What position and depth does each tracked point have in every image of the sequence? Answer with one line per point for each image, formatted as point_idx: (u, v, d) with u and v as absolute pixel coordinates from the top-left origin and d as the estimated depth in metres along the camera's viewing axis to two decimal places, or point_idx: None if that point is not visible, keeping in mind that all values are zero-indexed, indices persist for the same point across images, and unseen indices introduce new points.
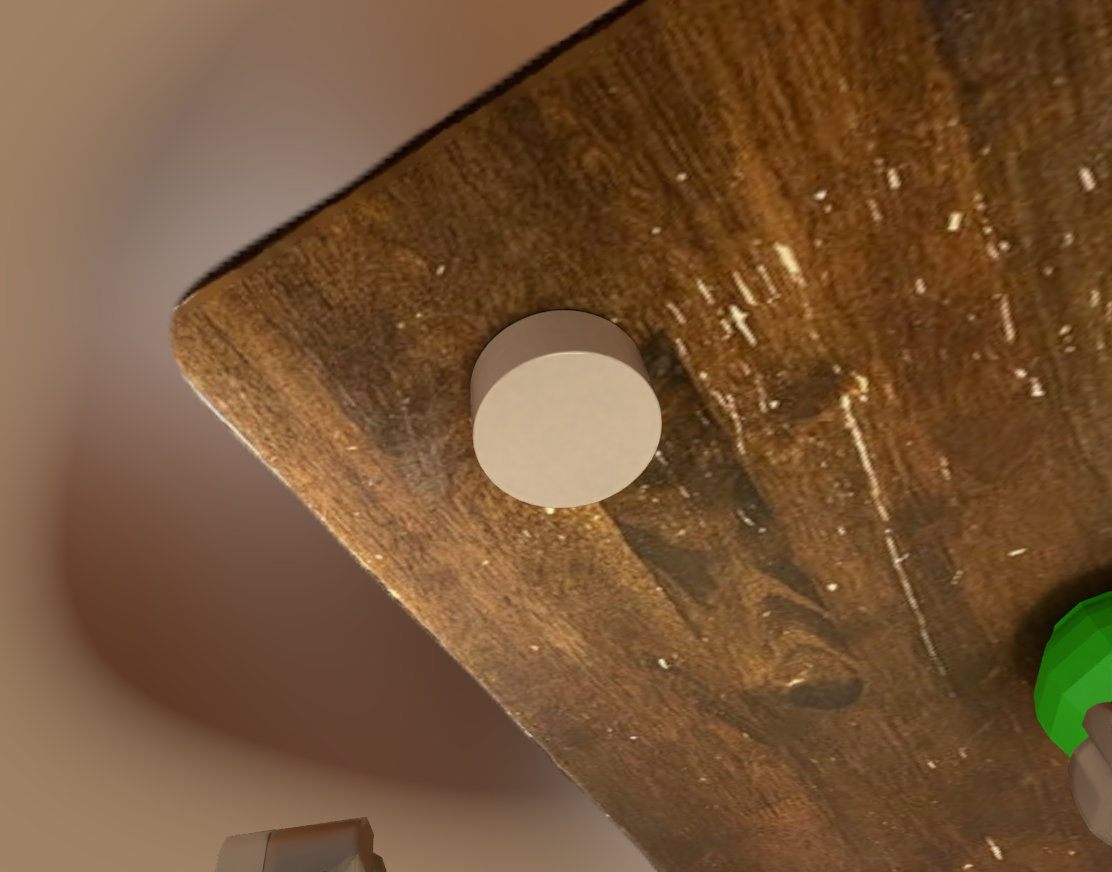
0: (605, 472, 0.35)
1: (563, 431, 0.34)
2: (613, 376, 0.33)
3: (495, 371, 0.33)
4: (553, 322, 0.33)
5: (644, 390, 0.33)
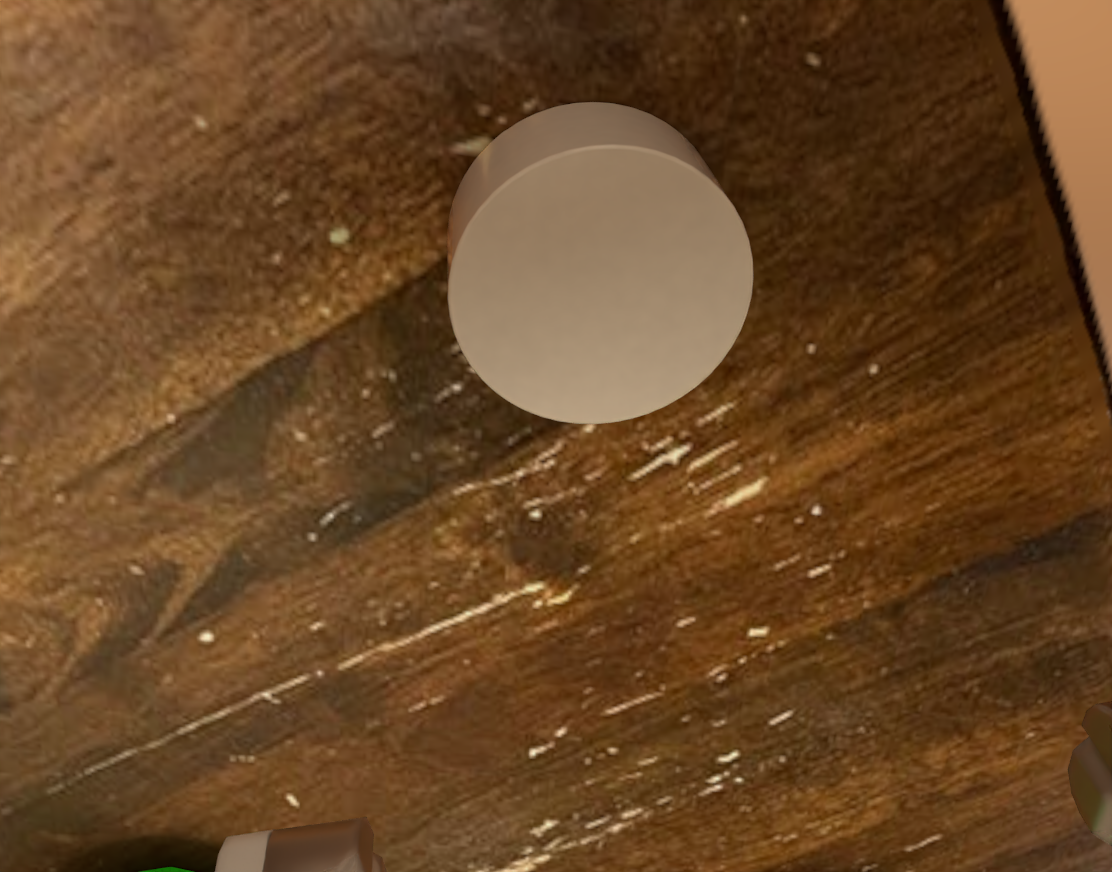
0: (522, 356, 0.21)
1: (610, 290, 0.21)
2: (700, 353, 0.22)
3: (708, 173, 0.20)
4: None
5: (669, 396, 0.22)
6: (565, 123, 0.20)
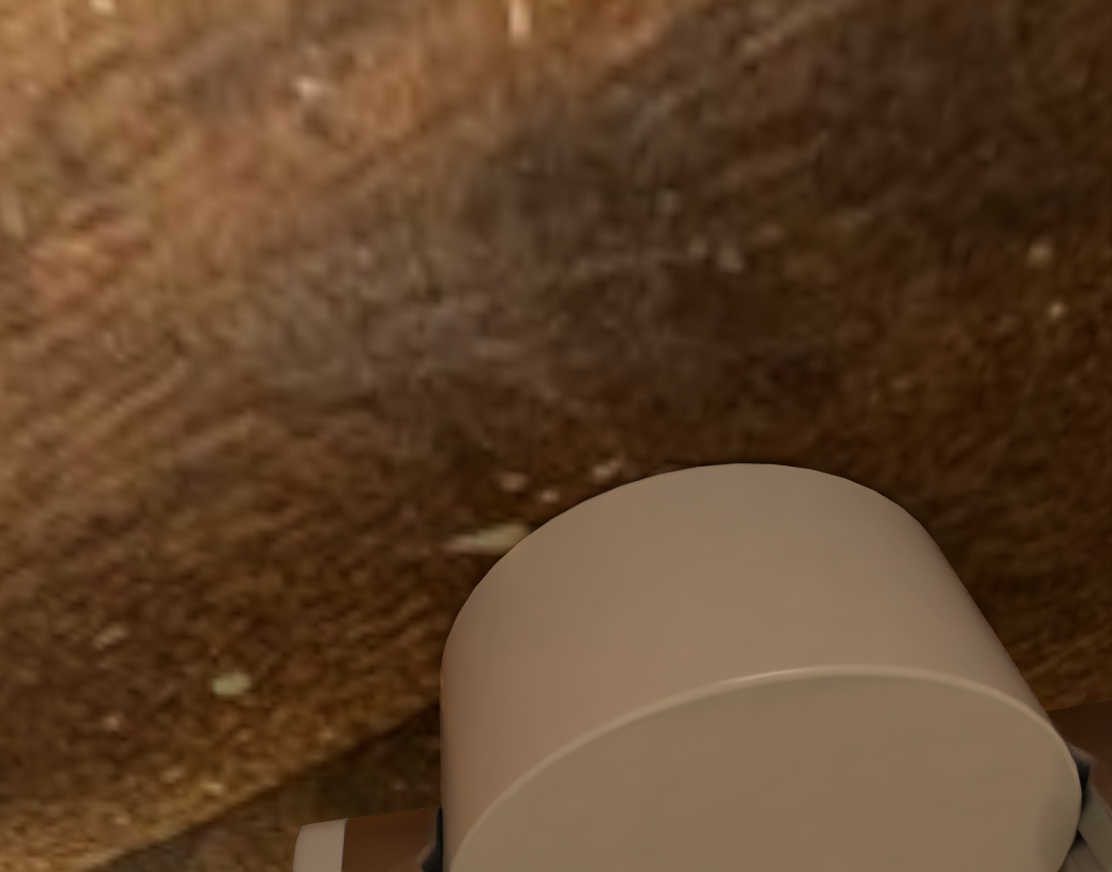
0: None
1: None
2: None
3: (1003, 658, 0.09)
4: None
5: None
6: (693, 550, 0.09)
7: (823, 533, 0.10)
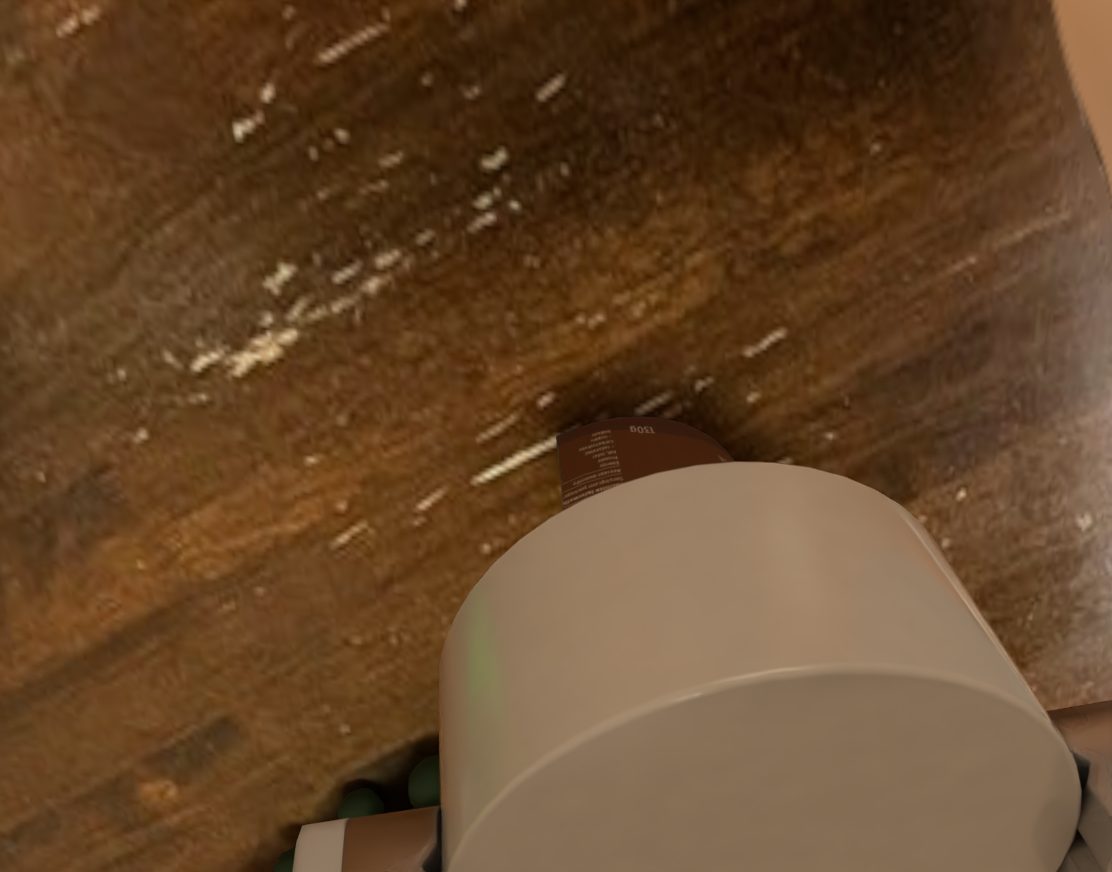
0: None
1: None
2: None
3: (1002, 656, 0.09)
4: None
5: None
6: (692, 548, 0.09)
7: (822, 531, 0.10)
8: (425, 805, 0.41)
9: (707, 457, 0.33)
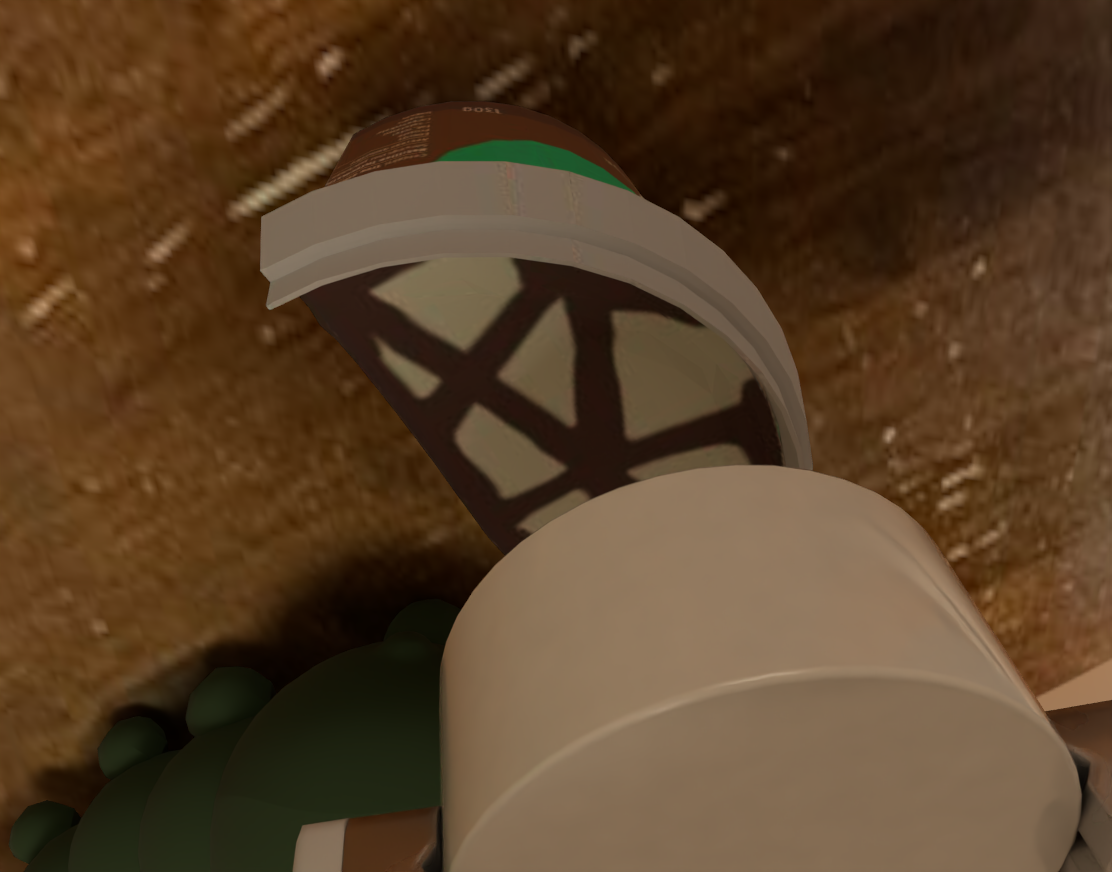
0: None
1: None
2: None
3: (1003, 660, 0.09)
4: None
5: None
6: (693, 551, 0.09)
7: (823, 534, 0.10)
8: (206, 733, 0.29)
9: (582, 148, 0.21)
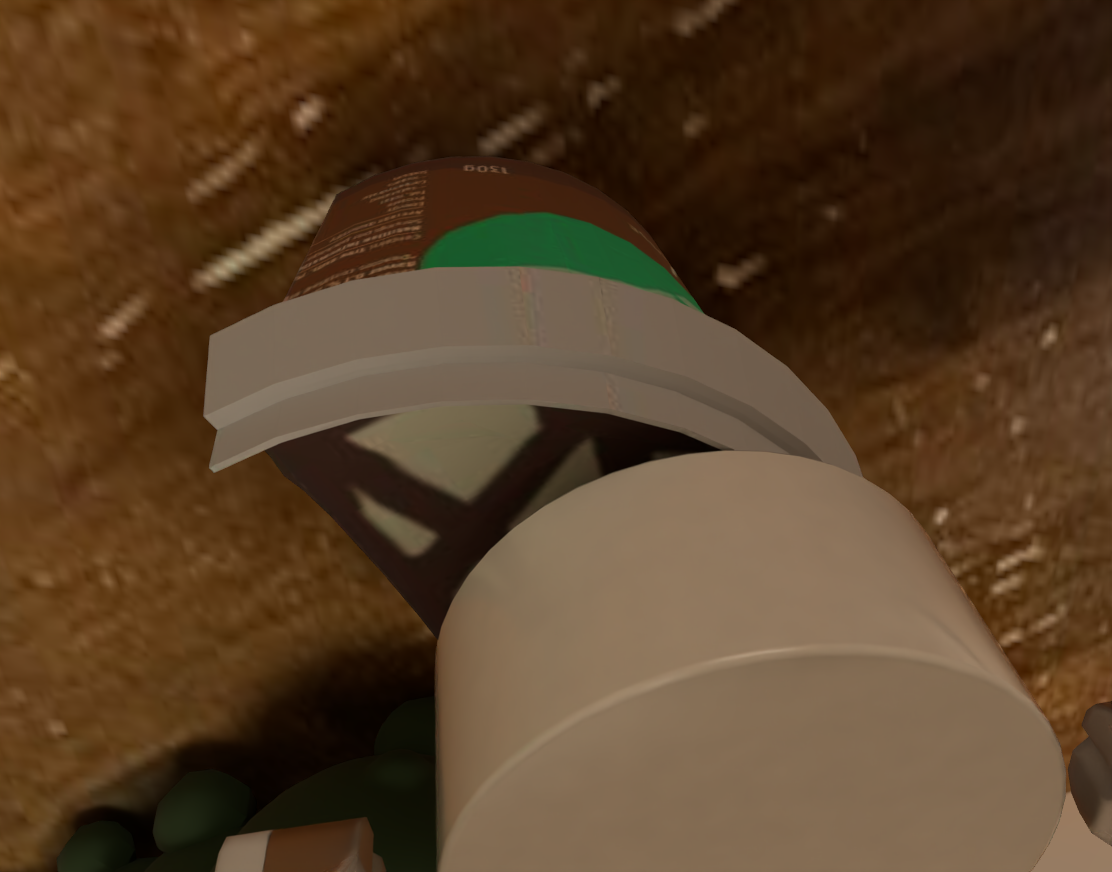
0: None
1: (772, 860, 0.10)
2: None
3: (987, 641, 0.10)
4: None
5: None
6: (683, 534, 0.10)
7: (811, 518, 0.10)
8: (175, 851, 0.25)
9: (604, 215, 0.18)
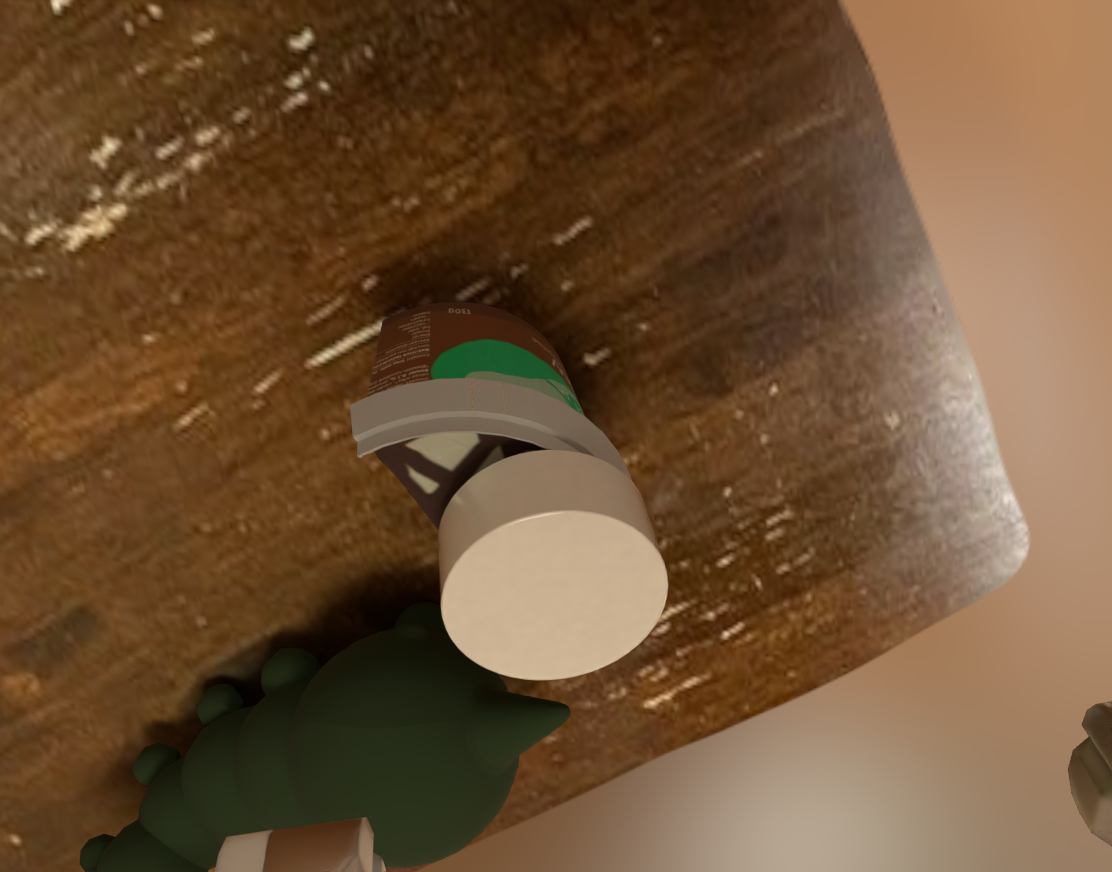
0: (496, 640, 0.29)
1: (561, 597, 0.28)
2: (630, 632, 0.29)
3: (633, 515, 0.27)
4: None
5: (607, 659, 0.30)
6: (527, 478, 0.27)
7: (573, 473, 0.28)
8: (276, 691, 0.43)
9: (518, 335, 0.35)
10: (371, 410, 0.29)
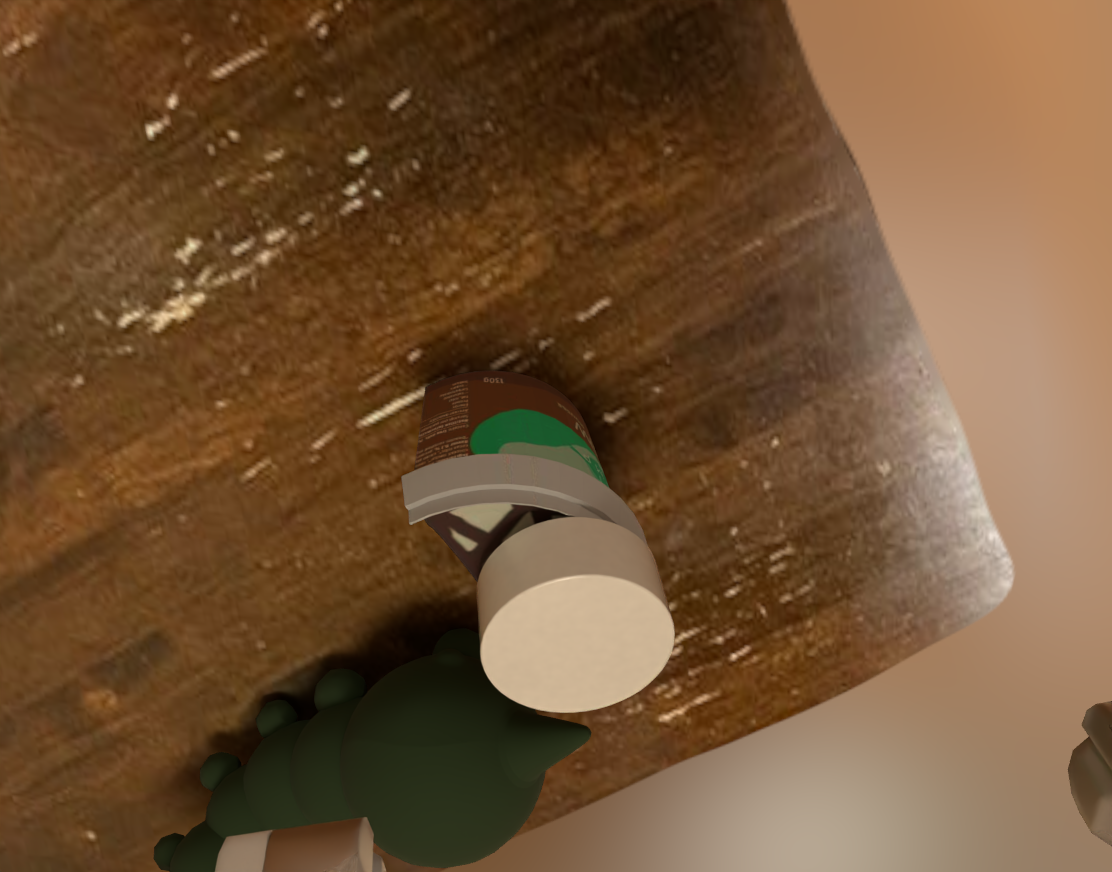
0: (527, 680, 0.33)
1: (583, 644, 0.33)
2: (642, 673, 0.34)
3: (644, 576, 0.32)
4: None
5: (622, 695, 0.34)
6: (554, 544, 0.32)
7: (593, 539, 0.32)
8: (328, 708, 0.48)
9: (545, 403, 0.40)
10: (420, 482, 0.34)
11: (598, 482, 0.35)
